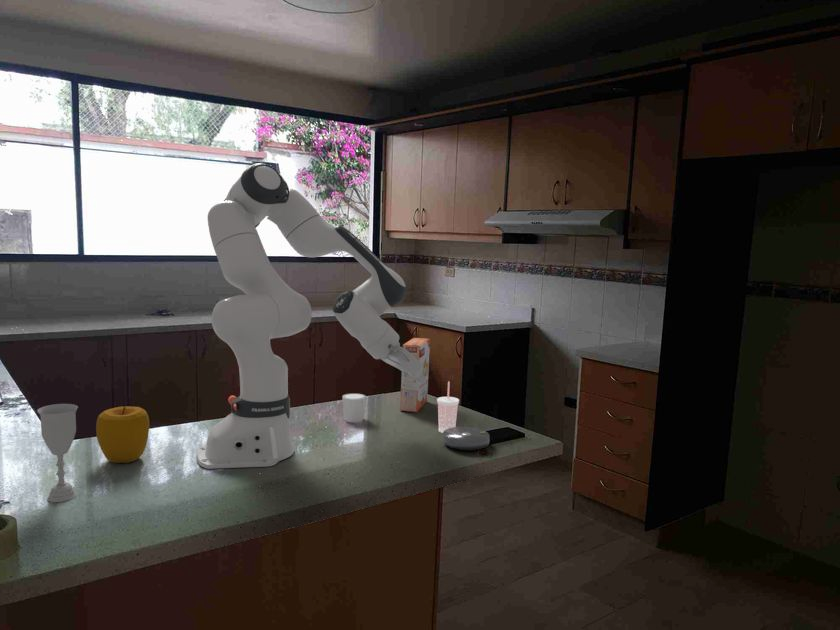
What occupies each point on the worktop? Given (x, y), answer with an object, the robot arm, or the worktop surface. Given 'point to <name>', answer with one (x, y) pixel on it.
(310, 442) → the worktop surface
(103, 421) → the apple
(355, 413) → the white short cylinder
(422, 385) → the cracker box
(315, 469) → the worktop surface
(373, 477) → the worktop surface
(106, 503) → the worktop surface
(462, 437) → the turntable
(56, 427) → the chalice
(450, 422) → the beverage cup
